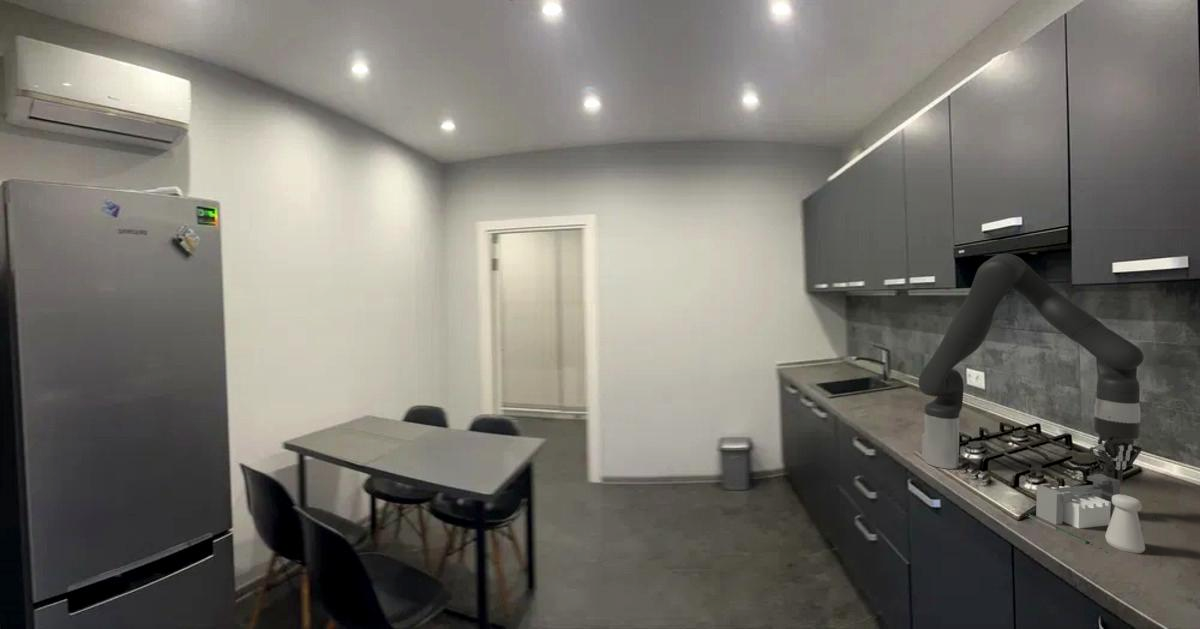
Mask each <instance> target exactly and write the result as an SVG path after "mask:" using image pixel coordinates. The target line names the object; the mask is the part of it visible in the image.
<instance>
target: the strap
mask: <svg viewBox="0 0 1200 629" xmlns="http://www.w3.org/2000/svg"><path fill="white" fill-rule="evenodd" d="M1064 487H1065V486H1064ZM1048 488H1050V487H1048ZM1050 489H1052V488H1050ZM1052 490H1055V491H1057V492H1060V493H1061V492H1068V491H1069V492H1072V496H1073V495H1083V494H1091V495H1093V493H1102V489H1101V488H1098V487H1096V486H1093V484H1087V485H1086V484H1085V485H1079V486H1078V485H1075V486H1070V487H1065V488H1059V487H1058V488H1057V487H1055V489H1052Z"/></svg>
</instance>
